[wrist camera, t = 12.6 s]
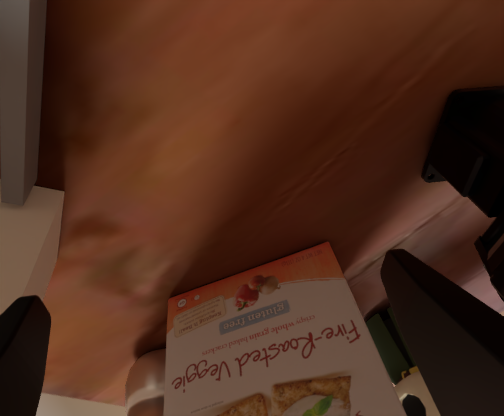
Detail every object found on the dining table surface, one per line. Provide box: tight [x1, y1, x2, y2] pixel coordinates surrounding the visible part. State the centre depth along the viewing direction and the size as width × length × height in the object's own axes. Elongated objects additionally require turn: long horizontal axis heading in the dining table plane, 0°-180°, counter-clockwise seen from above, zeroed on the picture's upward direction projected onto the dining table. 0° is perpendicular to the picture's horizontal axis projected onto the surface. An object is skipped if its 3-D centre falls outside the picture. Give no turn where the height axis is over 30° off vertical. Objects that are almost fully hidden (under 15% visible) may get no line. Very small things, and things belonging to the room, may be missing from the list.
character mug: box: [366, 307, 440, 416], centre depth 32 cm, size 11×7×13 cm, turn 123°
